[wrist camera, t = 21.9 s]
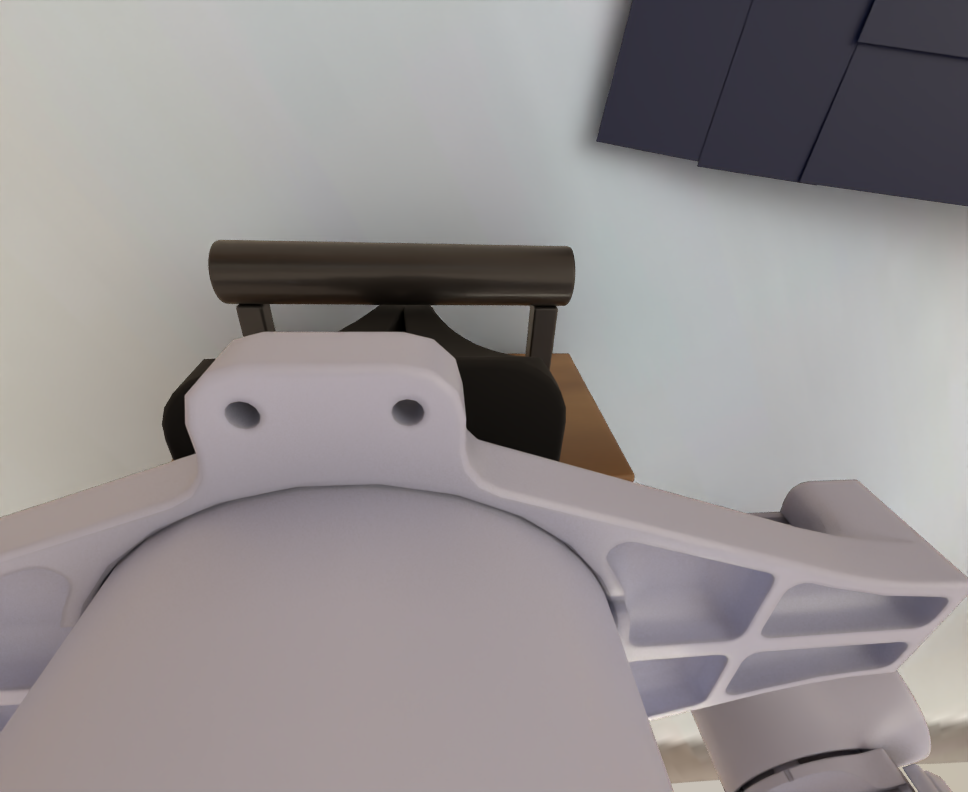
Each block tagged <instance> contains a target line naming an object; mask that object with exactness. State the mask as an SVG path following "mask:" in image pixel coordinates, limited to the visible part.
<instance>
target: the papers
mask: <svg viewBox="0 0 968 792" xmlns="http://www.w3.org/2000/svg"><path fill="white" fill-rule="evenodd" d="M596 141H597V142H603V143H608V144H613V145H618V146H623V147H628V148H633V149H638V150H643V151H648V152H653V153H658V154H663V155H668V156H673V157H678V158H683V159H688V160H693V161H698V165H697V166H698V167H705V168H711V169H717V170H724V171H730V172H736V173H742V174H749V175H755V176H761V177H768V178H774V179H780V180H787V181H793V182H799V183H805V184H812V185H823V186H830V187H837V188H844V189H851V190H858V191H865V192H872V193H879V194H886V195H893V196H900V197H907V198H914V199H921V200H927V201H934V202H941V203H948V204H955V205H962V206H968V0H633V2H632V5H631V9H630V13H629V17H628V21H627V25H626V29H625V32H624V36H623V40H622V44H621V48H620V52H619V56H618V59H617V63H616V67H615V71H614V75H613V79H612V82H611V86H610V90H609V94H608V98H607V102H606V106H605V109H604V113H603V117H602V121H601V125H600V129H599V133H598V136H597V140H596Z"/></svg>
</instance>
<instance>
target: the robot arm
mask: <svg viewBox="0 0 968 792" xmlns="http://www.w3.org/2000/svg"><path fill="white" fill-rule="evenodd" d="M565 424H566V406H565V403H564V399H563V396H562V393H561V391H560V389H559V386H558V384H557V382H556V380H555V379H554V377H553V375H552V373H551V372H550V370H549V369H548V367H547V366H546V364H545V363H544V362H543V360H542V358H540V357H527V356H515V355H509V354H504V353H500V352H496V351H492V350H489V349H486V348H484V347H481V346H478V345H476V344H474V343H472V342H470V341H468V340H467V339H465V338H463V337H461V336H460V335H458V334H457V333H455V332H454V331H453V330H452V329H450V328H449V327H448V326H447V325H446V324H445V323H444V322H443V321H442V320H441V319H440V318H439V316H438V315H437V314H436V313H435V311H434V310H433V308H432V307H431V306H430V305H380V306H378V307H376V308H375V309H374V310H372V311H371V312H369V313H368V314H366V315H365V316H363V317H362V318H360V319H359V320H357V321H356V322H354V323H352V324H350V325H349V326H347V327H345V328H344V329H342V330H340V331H338V332H261V333H257V334H253V335H249V336H245V337H241V338H237V339H233V340H232V341H231V343H230V344H229V345H228V346H227V347H226V348H225V349H224V350H223V352H222V353H221V354H220V355H219V356H218V357H217V358H216V359H204V360H203V361H202V362H201V363H200V364H199V365H198V366H197V367H196V368H195V369H194V371H193V372H192V373H191V374H190V375H189V376H188V377H187V378H186V379H185V380H184V382H183V383H182V384H181V385H180V386H179V387H178V388H177V389H176V390H175V391H174V393H173V394H172V396H171V397H170V399H169V401H168V402H167V404H166V406H165V408H164V413H163V420H162V427H163V431H164V435H165V440H166V443H167V445H168V448H169V450H170V453H171V455H172V458H173V460H174V461H171V462H168V463H165V464H162V465H159V466H156V467H153V468H150V469H147V470H144V471H141V472H138V473H135V474H131V475H128V476H125V477H122V478H119V479H116V480H113V481H110V482H107V483H104V484H101V485H98V486H95V487H92V488H89V489H86V490H83V491H79V492H76V493H73V494H70V495H67V496H64V497H61V498H58V499H55V500H52V501H49V502H46V503H43V504H40V505H37V506H34V507H31V508H27V509H24V510H21V511H18V512H15V513H12V514H9V515H6V516H3V517H0V792H674V791H673V788H672V785H671V783H670V780H669V777H668V774H667V771H666V768H665V765H664V762H663V760H662V757H661V754H660V751H659V748H658V745H657V742H656V739H655V737H654V734H653V731H652V728H651V725H650V722H649V721H652V720H656V719H660V718H665V717H669V716H673V715H677V714H681V713H685V712H689V711H691V713H692V715H693V717H694V720H695V722H696V724H697V727H698V729H699V731H700V734H701V736H702V739H703V741H704V743H705V746H706V748H707V750H708V753H709V755H710V757H711V760H712V762H713V765H714V767H715V769H716V772H717V774H718V776H719V779H720V781H721V783H722V786H723V788H724V791H725V792H915V790H914V789H913V787H912V786H911V785H910V783H909V782H908V780H907V779H906V777H905V776H904V775H903V773H902V772H901V771H900V770H899V768H898V767H900V766H904V765H908V764H911V763H915V762H918V761H920V760H923V759H925V758H926V757H927V756H928V755H929V754H930V751H931V739H930V734H929V730H928V726H927V723H926V721H925V718H924V716H923V714H922V712H921V709H920V707H919V706H918V704H917V702H916V700H915V698H914V696H913V695H912V693H911V691H910V689H909V688H908V686H907V685H906V683H905V681H904V680H903V678H902V677H901V675H900V674H899V673H898V671H897V669H898V668H899V667H900V666H901V665H902V664H903V663H904V662H905V661H906V660H907V659H908V658H909V657H910V656H911V655H912V654H913V653H914V651H915V650H916V649H917V648H918V647H919V646H920V645H921V644H922V643H923V642H924V641H925V640H926V639H927V638H928V637H929V636H930V635H931V634H932V632H933V631H934V630H935V629H936V628H937V627H938V626H939V625H940V624H941V623H942V622H943V621H944V620H945V619H946V618H947V617H948V616H949V614H950V613H951V612H952V611H953V610H954V609H955V608H956V607H957V606H958V605H959V604H960V603H961V602H962V601H963V600H964V599H965V598H966V597H967V595H968V577H966V576H965V575H964V574H963V573H962V572H961V571H960V570H959V569H957V568H956V567H955V566H954V565H953V564H952V563H951V562H950V561H948V560H947V559H946V558H945V557H944V556H943V555H942V554H941V553H939V552H938V551H937V550H936V549H935V548H934V547H933V546H931V545H930V544H929V543H928V542H927V541H926V540H925V539H924V538H922V537H921V536H920V535H919V534H918V533H917V532H916V531H915V530H913V529H912V528H911V527H910V526H909V525H908V524H907V523H906V522H904V521H903V520H902V519H901V518H900V517H899V516H898V515H896V514H895V513H894V512H893V511H892V510H891V509H890V508H889V507H887V506H886V505H885V504H884V503H883V502H882V501H881V500H880V499H878V498H877V497H876V496H875V495H874V494H873V493H872V492H871V491H869V490H868V489H867V488H866V487H865V486H864V485H863V484H861V483H860V482H859V481H858V480H826V481H808V482H803V483H800V484H798V485H796V486H795V487H793V488H792V489H791V490H790V491H789V493H788V494H787V496H786V498H785V500H784V502H783V505H782V508H781V511H780V512H764V513H743V512H740V511H736V510H733V509H729V508H725V507H722V506H718V505H714V504H711V503H707V502H703V501H700V500H696V499H693V498H689V497H685V496H682V495H678V494H674V493H671V492H667V491H663V490H660V489H656V488H652V487H649V486H645V485H642V484H638V483H634V482H631V481H627V480H623V479H620V478H616V477H612V476H609V475H605V474H602V473H598V472H594V471H591V470H587V469H583V468H580V467H576V466H572V465H569V464H565V463H562V462H559V461H560V455H561V449H562V443H563V436H564V430H565ZM903 769H904V771H905V772H906V774H907V776H908V777H909V779H910V780H911V782H912V783H913V784H914V786H915V787H916V789H917V790H918V792H952V791H951V789H950V788H949V787H948V785H947V784H946V783H945V782H944V781H943V779H942V778H941V777H939V776H937V775H935V774H933V773H930V772H928V771H923V770H922V769H921V768H920V767H919V766H918V765H916V764H911V765H908V766H906V767H903Z"/></svg>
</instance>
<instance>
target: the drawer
mask: <svg viewBox="0 0 968 792" xmlns="http://www.w3.org/2000/svg"><path fill="white" fill-rule="evenodd" d="M208 266H209V275H210V280H211V284H212V287H213V289H214V292H215V294H216V295H217V297H218V298H219V299H220V300H221V301H222V302H224V303H226V304H239V305H238V306H237V308H236V309H237V313H238V317H239V321H240V325H241V329H242V333H243V337H245V336H249V335H253V334H257V333H261V332H275V327H274V322H273V318H272V313H271V308H270V304H347V305H528V306H530V313H529V323H528V334H527V344H526V354H509V355H515V356H527V357H540V358H542V360H543V362H544V363H545V364H546V366H547V367H548V369H549V370H550V372H551V373H552V375H553V377H554V379H555V380H556V382H557V384H558V386H559V389H560V391H561V393H562V396H563V399H564V403H565V406H566V424H565V430H564V436H563V443H562V449H561V455H560V461H559V462H562V463H565V464H569V465H572V466H576V467H580V468H583V469H587V470H591V471H594V472H598V473H602V474H605V475H609V476H612V477H616V478H620V479H623V480H627V481H631V482H633V481H634V477H635V476H634V473H633V471H632V469H631V467H630V466H629V464H628V462H627V460H626V458H625V456H624V454H623V453H622V451H621V449H620V447H619V445H618V443H617V442H616V440H615V438H614V436H613V434H612V432H611V430H610V429H609V427H608V425H607V423H606V421H605V419H604V417H603V416H602V414H601V412H600V410H599V408H598V406H597V405H596V403H595V401H594V399H593V397H592V395H591V393H590V392H589V390H588V388H587V386H586V384H585V382H584V381H583V379H582V377H581V375H580V373H579V371H578V369H577V368H576V366H575V364H574V362H573V360H572V358H571V357H570V355H569V354H568V353H559V354H552V350H553V343H554V335H555V327H556V320H557V312H558V309H557V307H556V306H565V305H567V304H568V303H569V302H570V299H571V297H572V293H573V289H574V283H575V260H574V254H573V251H572V249H571V248H570V247H568V246H530V245H475V244H420V243H366V242H311V241H256V240H218V241H215V242H214V243H213V244H212V246H211V249H210V252H209V260H208ZM172 461H174V460H173V459H172Z"/></svg>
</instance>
